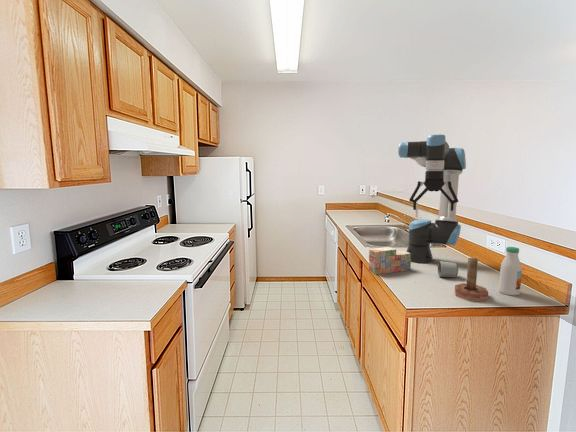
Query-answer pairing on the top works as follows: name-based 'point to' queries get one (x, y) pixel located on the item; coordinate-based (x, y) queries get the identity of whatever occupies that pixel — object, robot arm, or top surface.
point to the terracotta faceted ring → (471, 293)
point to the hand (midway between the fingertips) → (432, 217)
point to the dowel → (471, 274)
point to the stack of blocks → (388, 260)
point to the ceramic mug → (447, 269)
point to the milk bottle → (510, 273)
